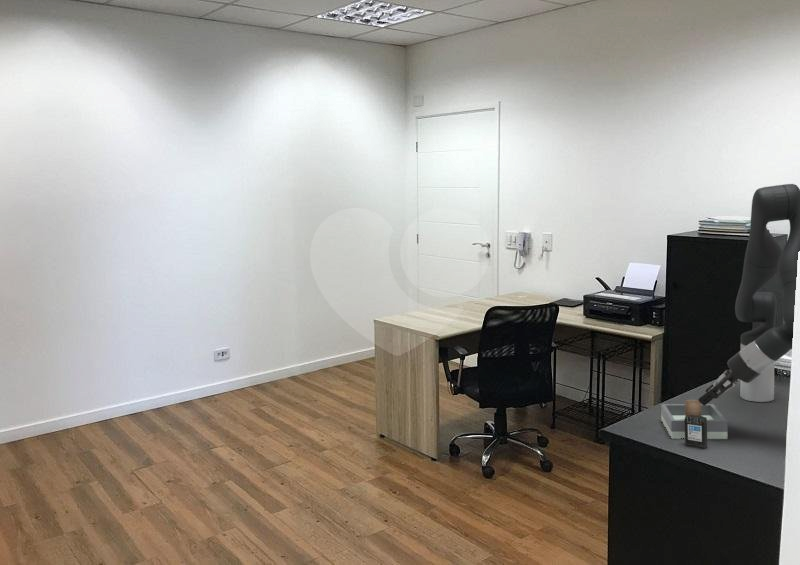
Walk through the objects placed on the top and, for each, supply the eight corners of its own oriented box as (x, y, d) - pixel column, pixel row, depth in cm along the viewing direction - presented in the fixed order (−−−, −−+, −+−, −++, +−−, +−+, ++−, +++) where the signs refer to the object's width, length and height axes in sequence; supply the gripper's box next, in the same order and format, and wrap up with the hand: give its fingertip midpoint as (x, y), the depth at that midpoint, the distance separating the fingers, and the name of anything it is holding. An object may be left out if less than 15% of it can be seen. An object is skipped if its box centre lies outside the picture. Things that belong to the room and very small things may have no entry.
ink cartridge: (684, 446, 175) (684, 416, 174) (687, 443, 177) (686, 414, 176) (705, 449, 172) (704, 419, 171) (707, 446, 174) (706, 416, 173)
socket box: (661, 420, 194) (661, 404, 193) (713, 421, 191) (713, 404, 191) (671, 438, 181) (671, 420, 180) (727, 439, 178) (727, 421, 177)
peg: (683, 427, 188) (683, 399, 187) (699, 427, 188) (699, 399, 187) (687, 432, 184) (687, 404, 183) (702, 432, 184) (702, 404, 183)
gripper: (745, 344, 182) (700, 380, 190) (735, 356, 170) (687, 394, 179) (767, 365, 179) (720, 401, 188) (758, 379, 168) (709, 416, 176)
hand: (704, 397), depth 183 cm, fingers open, 8 cm apart
